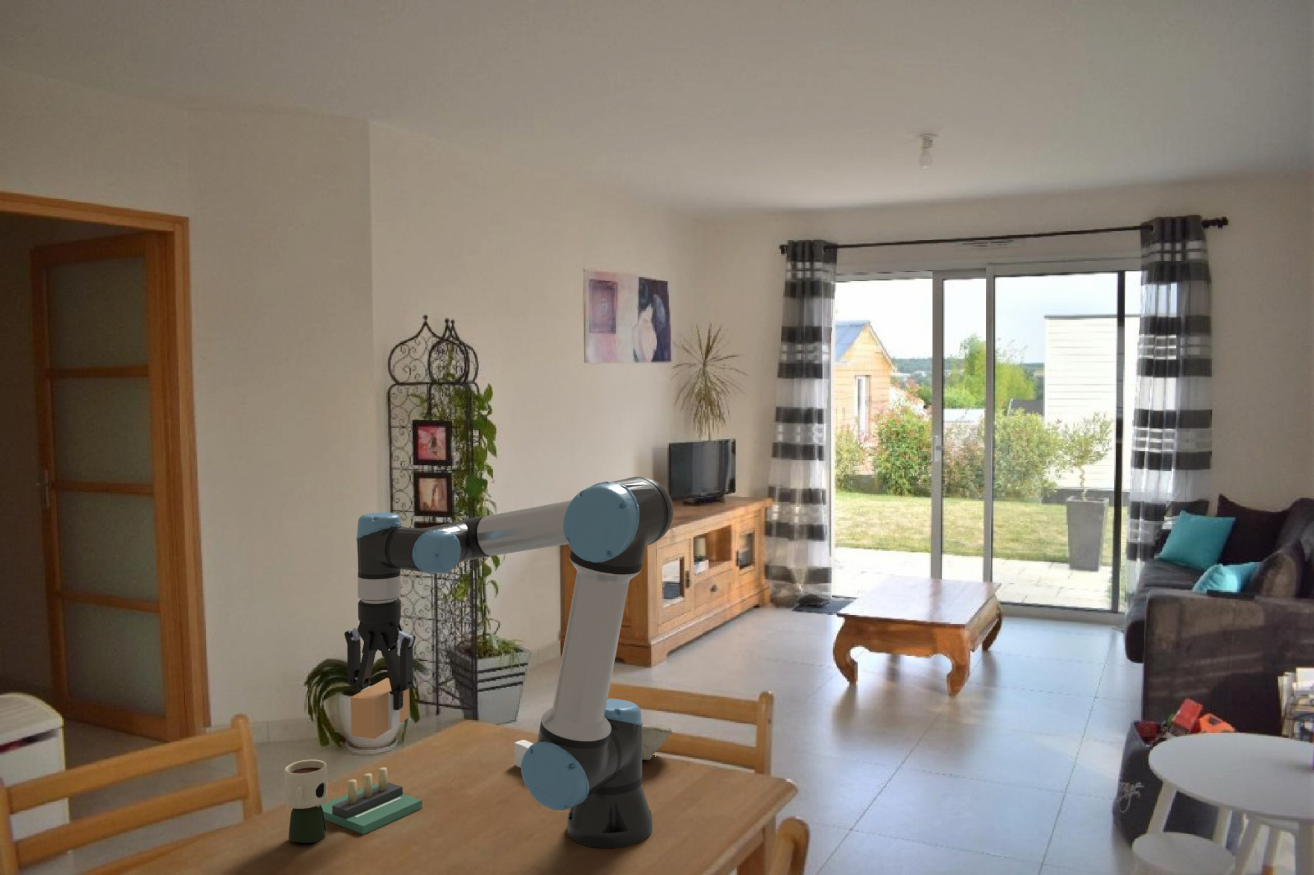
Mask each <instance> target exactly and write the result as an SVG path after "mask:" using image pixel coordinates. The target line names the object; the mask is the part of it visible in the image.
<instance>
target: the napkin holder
mask: <svg viewBox="0 0 1314 875" xmlns="http://www.w3.org/2000/svg"><path fill="white" fill-rule="evenodd" d="M532 744H534V743H533V742H531V741H528V740H526V739H521V740H518V741H514V765H516V766H515V767H517V768H520V769H521V762H522V758H523V756H524V754H525V752H526V751H527V750H528V748H529V747H530V746H531V745H532Z"/></svg>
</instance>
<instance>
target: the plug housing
mask: <svg viewBox="0 0 1314 875" xmlns="http://www.w3.org/2000/svg"><path fill="white" fill-rule="evenodd" d="M370 686H371V687H369V688H367V689H365V690H363V691H361V692H360V693H358V692H357V693H356V694H354V695H352V696H350V730H351V733H350V735H351V737H358V738H366V739H372V740H375V739H377V738H379V737H380V736H382V735H383V734H385V733H386V732H388V731H390V730H391V729H388V693H390V691H392V690H391V686H390V681H389V677H386V678H384V679H382V680H380V681H379V682H377V683H375V684H373V685H370ZM410 703H411V702H410V688H409V689H407V690H405V691H403V707H402V708H401V709H400V724H401V723H402V722H405V721H406V720H408V719H409V718H411V709H410V705H411V704H410Z"/></svg>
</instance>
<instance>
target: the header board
mask: <svg viewBox="0 0 1314 875" xmlns="http://www.w3.org/2000/svg"><path fill="white" fill-rule="evenodd" d="M377 771H378V772H377V774H378V775H377V776H378V784H375V783H373V774H372V773H371V772H369V773H364V774H363V775H362V780H363V784H362V788H360V789H358V781H357V779H354V778H353V779H348V780H347V793H346V794H345V795H342V796H339V797H337V798H335V799H333V800H329V801H326V802H324V803H322V804H320V805H321V806H322V808H323V813H324V818H325V821H327V822H330V823H332V824H335V825H338V826H340V827H343V828H345V827H346V829H348V830H350V831H353V832H356V833H359V834H361V835H365V834H368V833H370V832H372V831H374V830H376V829H378V828H381V827H384V826H385V825H387V824H389V823H392V822H395V821H396V820H398V819H400V818H404V817H406V816H407V815H410V814H412V813H414V812H417V811H418V810H419V811H420V810H421V809H423V800H422V799H420V798H418V797H413V796H411V795H408V794H405V793H404V791H403V788H404V787H403V786H401V785H397V784H395V783H393V782H389V781H388V767H386V766H385V767H379V768H378V769H377Z"/></svg>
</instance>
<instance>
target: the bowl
mask: <svg viewBox="0 0 1314 875" xmlns="http://www.w3.org/2000/svg"><path fill="white" fill-rule="evenodd" d="M672 734H673V731H672V728H671V727H670V726H666V725H663V724H662V725H661V724H652V723H651V724H643V726H642V761H644V760H645V761H650V760H651V759H652V758H653V755H654V754H655V753H656V752H657V751H658V750H659V748H660V747H661V746H662V745H664V743H665V742H667V740H668V738H670V735H672ZM650 755H651V756H650Z"/></svg>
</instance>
